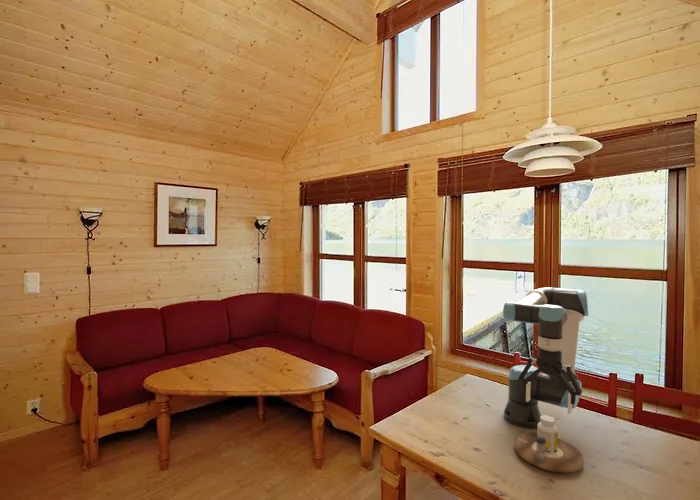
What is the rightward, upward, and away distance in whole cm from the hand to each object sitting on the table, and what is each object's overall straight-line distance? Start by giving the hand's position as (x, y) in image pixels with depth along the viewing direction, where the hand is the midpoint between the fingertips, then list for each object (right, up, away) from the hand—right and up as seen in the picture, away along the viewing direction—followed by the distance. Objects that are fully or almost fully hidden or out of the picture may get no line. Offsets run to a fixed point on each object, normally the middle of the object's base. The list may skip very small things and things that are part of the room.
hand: (548, 406), depth 131 cm
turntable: (0, -17, +1) cm, 17 cm away
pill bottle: (0, -16, +1) cm, 16 cm away
